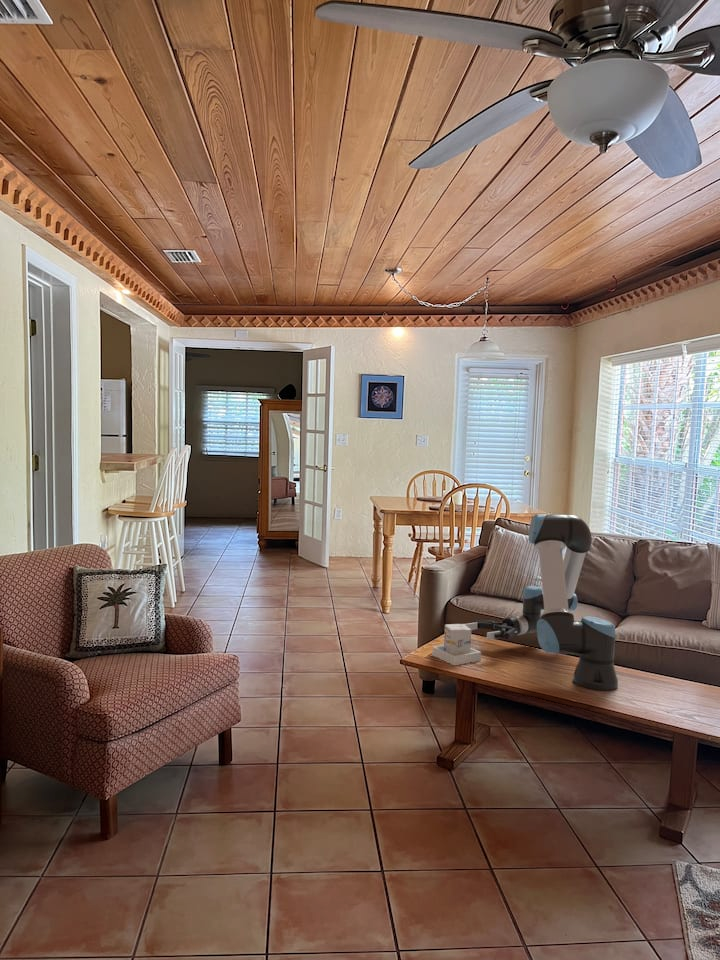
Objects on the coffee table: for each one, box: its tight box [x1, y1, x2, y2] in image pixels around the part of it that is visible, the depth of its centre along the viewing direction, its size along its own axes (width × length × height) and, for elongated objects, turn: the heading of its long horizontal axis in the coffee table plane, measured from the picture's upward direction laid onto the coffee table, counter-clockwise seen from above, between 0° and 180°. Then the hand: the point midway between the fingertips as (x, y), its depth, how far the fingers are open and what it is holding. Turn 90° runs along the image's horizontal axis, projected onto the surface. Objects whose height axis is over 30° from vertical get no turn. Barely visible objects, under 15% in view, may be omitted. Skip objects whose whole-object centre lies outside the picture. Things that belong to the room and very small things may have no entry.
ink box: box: [443, 623, 472, 656], centre depth 259 cm, size 9×8×12 cm
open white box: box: [432, 644, 482, 666], centre depth 259 cm, size 13×14×4 cm
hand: (475, 631), depth 263 cm, fingers open, 13 cm apart
